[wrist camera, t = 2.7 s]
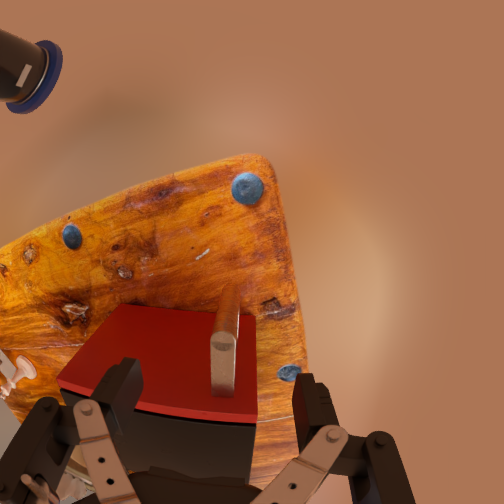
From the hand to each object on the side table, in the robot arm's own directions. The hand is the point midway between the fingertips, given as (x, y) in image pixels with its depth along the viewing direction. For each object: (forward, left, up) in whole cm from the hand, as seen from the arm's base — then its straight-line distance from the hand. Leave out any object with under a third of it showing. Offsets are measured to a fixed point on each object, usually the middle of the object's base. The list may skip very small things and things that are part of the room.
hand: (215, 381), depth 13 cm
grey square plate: (-48, -24, -18) cm, 56 cm away
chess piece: (-38, -22, -18) cm, 47 cm away
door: (-6, -3, -17) cm, 18 cm away
